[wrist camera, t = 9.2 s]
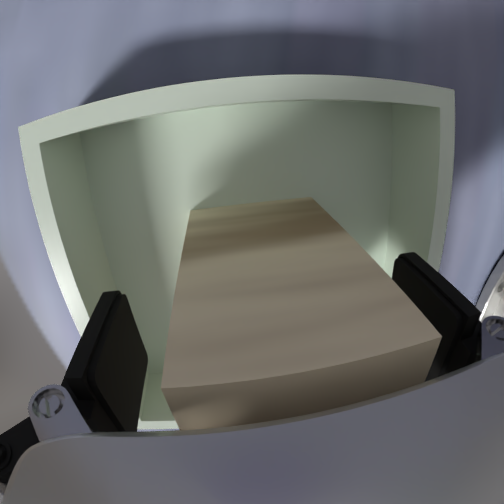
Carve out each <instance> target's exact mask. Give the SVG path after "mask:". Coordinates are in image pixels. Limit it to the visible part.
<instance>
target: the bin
mask: <svg viewBox="0 0 504 504" xmlns="http://www.w3.org/2000/svg"><path fill="white" fill-rule="evenodd" d="M18 129H19V136H20V143H21V149H22V155H23V160H24V166H25V171H26V175H27V180H28V185H29V189H30V193H31V197H32V201H33V205H34V209H35V213H36V217H37V220H38V224H39V227H40V231H41V234H42V237H43V241H44V244H45V247H46V250H47V253H48V256H49V259H50V262H51V265H52V268H53V270H54V273H55V276H56V279H57V281H58V284H59V286H60V289H61V292H62V294H63V297H64V299H65V302H66V304H67V306H68V309H69V311H70V313H71V316H72V318H73V320H74V322H75V325H76V327H77V329H78V331H79V333H80V336H81V337H82V334H83V332H84V330H85V328H86V326H87V323H88V321H89V319H90V317H91V315H92V313H93V311H94V309H95V307H96V305H97V303H98V301H99V299H100V297H101V295H102V293H103V292H107V291H117V290H119V291H120V292H121V294H125V295H126V296H127V298H128V301H129V304H130V307H131V310H132V313H133V316H134V319H135V322H136V325H137V328H138V330H139V333H140V336H141V339H142V341H143V344H144V347H145V349H146V352H147V355H148V365H147V371H146V377H145V382H144V388H143V394H142V400H141V407H140V413H139V420H138V427H137V429H177V428H179V427H178V425H177V423H176V421H175V419H174V417H173V414H172V412H171V410H170V408H169V406H168V404H167V401H166V399H165V397H164V395H163V392H162V390H161V382H162V374H163V366H164V359H165V351H166V344H167V337H168V331H169V324H170V318H171V312H172V305H173V299H174V293H175V288H176V282H177V276H178V271H179V265H180V260H181V255H182V250H183V244H184V239H185V234H186V229H187V225H188V220H189V215H190V210H197V209H205V208H213V207H221V206H230V205H238V204H247V203H256V202H265V201H275V200H285V199H295V198H306V197H312V198H313V199H314V200H315V201H316V202H317V203H318V204H319V205H320V206H321V207H322V208H323V209H324V210H325V211H326V212H327V213H328V214H329V215H330V216H331V217H332V218H333V219H334V220H335V221H336V222H338V223H339V224H340V225H341V226H342V227H343V228H344V229H345V230H346V231H347V232H348V233H349V234H350V236H351V237H352V238H353V239H354V240H355V241H356V242H357V243H358V244H359V245H360V246H361V247H362V248H363V249H364V250H365V251H366V252H367V253H368V254H369V255H370V256H371V257H372V258H373V259H374V260H375V261H376V262H377V263H378V265H379V266H380V267H381V268H382V269H383V270H384V271H385V272H386V273H387V274H388V275H389V276H390V277H391V279H392V273H393V266H394V261H395V259H396V258H398V256H399V255H400V254H403V253H409V252H415V253H416V254H418V255H419V256H420V257H421V258H422V259H424V260H425V261H426V262H427V263H428V264H429V265H430V266H432V267H433V268H434V269H435V270H436V271H437V272H439V267H440V262H441V257H442V252H443V246H444V241H445V235H446V228H447V222H448V214H449V207H450V198H451V189H452V178H453V165H454V146H455V92H454V90H453V89H448V88H443V87H438V86H432V85H427V84H420V83H414V82H407V81H399V80H391V79H382V78H371V77H359V76H342V75H263V76H246V77H234V78H223V79H213V80H205V81H197V82H189V83H183V84H176V85H170V86H164V87H158V88H153V89H148V90H143V91H138V92H133V93H129V94H124V95H120V96H116V97H112V98H108V99H104V100H100V101H96V102H92V103H89V104H85V105H82V106H78V107H75V108H72V109H68V110H65V111H62V112H59V113H56V114H53V115H50V116H47V117H44V118H41V119H39V120H36V121H33V122H30V123H28V124H25V125H23V126H20V127H18Z"/></svg>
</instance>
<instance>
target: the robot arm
mask: <svg viewBox="0 0 504 504" xmlns="http://www.w3.org/2000/svg"><path fill="white" fill-rule="evenodd" d="M392 280H393V281H394V282H395V283H396V284H397V285H398V286H399V287H400V288H401V290H402V291H403V292H404V293H405V294H406V295H407V296H408V297H409V298H410V300H411V301H412V302H413V303H414V304H415V305H416V306H417V308H418V309H419V310H420V311H421V312H422V313H423V314H424V316H425V317H426V318H427V319H428V320H429V322H430V323H431V324H432V325H433V326H434V327H435V329H436V330H437V331H438V332H439V333H440V335H441V336H442V338H441V341H440V344H439V346H438V349H437V352H436V354H435V357H434V360H433V362H432V365H431V367H430V370H429V372H428V375H427V377H426V379H425V382H423V383H420V384H418V385H415V386H412V387H409V388H406V389H403V390H400V391H396V392H393V393H390V394H387V395H383V396H380V397H376V398H373V399H369V400H366V401H362V402H358V403H355V404H351V405H347V406H343V407H339V408H334V409H330V410H326V411H321V412H317V413H312V414H307V415H302V416H297V417H291V418H285V419H280V420H273V421H267V422H260V423H253V424H246V425H238V426H229V427H219V428H208V429H194V430H176V431H151V432H137V427H138V420H139V413H140V407H141V400H142V394H143V388H144V382H145V377H146V371H147V365H148V355H147V352H146V349H145V347H144V344H143V341H142V339H141V336H140V333H139V330H138V328H137V325H136V322H135V319H134V316H133V313H132V310H131V307H130V304H129V301H128V298H127V296H126V295H125V294H121V292H120V291H119V290H117V291H107V292H103V293H102V295H101V297H100V299H99V301H98V303H97V305H96V307H95V309H94V311H93V313H92V315H91V317H90V319H89V321H88V323H87V326H86V328H85V330H84V332H83V334H82V337H81V339H80V341H79V343H78V345H77V348H76V350H75V352H74V355H73V357H72V359H71V362H70V364H69V367H68V369H67V371H66V374H65V376H64V379H63V382H62V384H61V385H55V384H53V385H47V386H45V387H42V388H41V389H39V390H38V391H36V392H35V394H34V395H33V396H32V397H31V399H30V401H29V405H28V412H29V416H30V417H28V418H26V419H25V420H23V421H22V422H20V423H19V424H17V425H15V426H14V427H12V428H11V429H9V430H8V431H6V432H4V433H3V434H1V435H0V504H504V255H503V256H502V258H501V259H500V260H499V262H498V264H497V265H496V267H495V268H494V270H493V272H492V273H491V275H490V277H489V279H488V281H487V283H486V284H485V286H484V288H483V290H482V293H481V295H480V297H479V299H478V302H477V304H476V307H475V306H474V305H473V304H472V303H471V302H470V301H469V300H468V299H467V298H466V297H465V296H464V295H463V294H461V293H460V292H459V291H458V290H457V289H456V288H455V287H454V286H453V285H452V284H451V283H450V282H448V281H447V280H446V279H445V278H444V277H443V276H442V275H441V274H440V273H438V272H437V271H436V270H435V269H434V268H433V267H432V266H430V265H429V264H428V263H427V262H426V261H425V260H424V259H422V258H421V257H420V256H419V255H418V254H416V253H415V252H409V253H403V254H400V255H399V256H398V258H396V259H395V261H394V266H393V273H392Z"/></svg>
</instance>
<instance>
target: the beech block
mask: <svg viewBox="0 0 504 504" xmlns="http://www.w3.org/2000/svg"><path fill="white" fill-rule="evenodd" d="M441 338H442V336H441V335H440V333H439V332H438V331H437V330H436V329H435V327H434V326H433V325H432V324H431V323H430V322H429V320H428V319H427V318H426V317H425V316H424V314H423V313H422V312H421V311H420V310H419V309H418V308H417V306H416V305H415V304H414V303H413V302H412V301H411V300H410V298H409V297H408V296H407V295H406V294H405V293H404V292H403V291H402V290H401V288H400V287H399V286H398V285H397V284H396V283H395V282H394V281H393V280H392V279H391V277H390V276H389V275H388V274H387V273H386V272H385V271H384V270H383V269H382V268H381V267H380V266H379V265H378V263H377V262H376V261H375V260H374V259H373V258H372V257H371V256H370V255H369V254H368V253H367V252H366V251H365V250H364V249H363V248H362V247H361V246H360V245H359V244H358V243H357V242H356V241H355V240H354V239H353V238H352V237H351V236H350V234H349V233H348V232H347V231H346V230H345V229H344V228H343V227H342V226H341V225H340V224H339V223H338V222H336V221H335V220H334V219H333V218H332V217H331V216H330V215H329V214H328V213H327V212H326V211H325V210H324V209H323V208H322V207H321V206H320V205H319V204H318V203H317V202H316V201H315V200H314V199H313V198H312V197H306V198H295V199H285V200H275V201H265V202H256V203H247V204H238V205H230V206H221V207H213V208H205V209H197V210H190V215H189V220H188V225H187V229H186V234H185V239H184V244H183V250H182V255H181V260H180V265H179V271H178V276H177V282H176V288H175V293H174V299H173V305H172V312H171V318H170V324H169V331H168V337H167V344H166V351H165V359H164V366H163V374H162V382H161V390H162V392H163V395H164V397H165V399H166V401H167V404H168V406H169V408H170V410H171V412H172V414H173V417H174V419H175V421H176V423H177V425H178V427H179V429H180V430H194V429H208V428H219V427H229V426H238V425H246V424H253V423H260V422H267V421H273V420H280V419H285V418H291V417H297V416H302V415H307V414H312V413H317V412H321V411H326V410H330V409H334V408H339V407H343V406H347V405H351V404H355V403H358V402H362V401H366V400H369V399H373V398H376V397H380V396H383V395H387V394H390V393H393V392H396V391H400V390H403V389H406V388H409V387H412V386H415V385H418V384H420V383H423V382H425V379H426V377H427V375H428V372H429V370H430V367H431V365H432V362H433V360H434V357H435V354H436V352H437V349H438V346H439V344H440V341H441Z"/></svg>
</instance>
